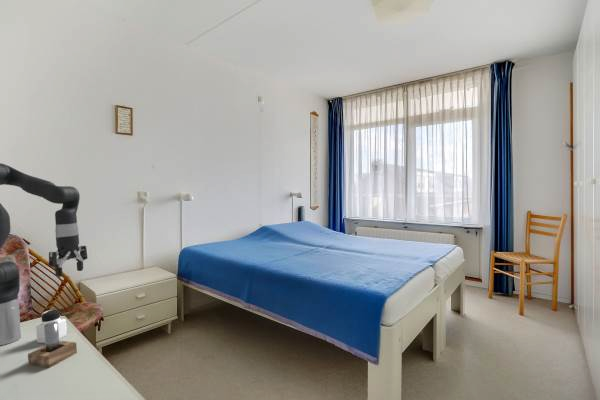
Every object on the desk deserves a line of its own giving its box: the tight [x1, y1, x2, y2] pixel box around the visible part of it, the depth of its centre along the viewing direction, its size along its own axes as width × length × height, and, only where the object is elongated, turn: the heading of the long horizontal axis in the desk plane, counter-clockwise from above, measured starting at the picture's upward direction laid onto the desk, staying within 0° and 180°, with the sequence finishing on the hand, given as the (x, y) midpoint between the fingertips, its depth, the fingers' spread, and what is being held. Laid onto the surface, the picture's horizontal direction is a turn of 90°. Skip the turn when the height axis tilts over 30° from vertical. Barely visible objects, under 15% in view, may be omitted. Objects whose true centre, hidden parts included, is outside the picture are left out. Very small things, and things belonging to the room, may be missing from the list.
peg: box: [44, 322, 60, 353], centre depth 113 cm, size 4×4×12 cm
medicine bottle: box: [35, 308, 68, 344], centre depth 129 cm, size 7×7×12 cm
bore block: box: [27, 340, 78, 369], centre depth 113 cm, size 10×10×4 cm
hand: (70, 273), depth 126 cm, fingers open, 8 cm apart
